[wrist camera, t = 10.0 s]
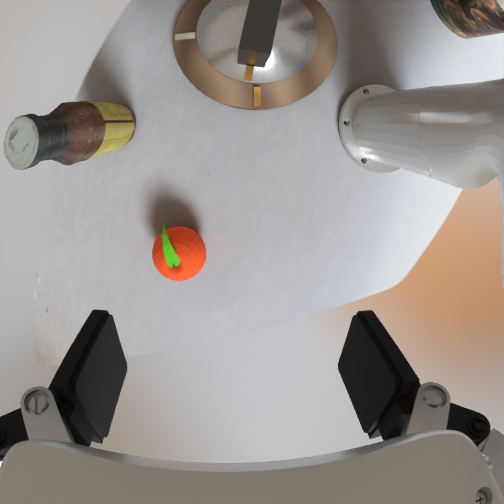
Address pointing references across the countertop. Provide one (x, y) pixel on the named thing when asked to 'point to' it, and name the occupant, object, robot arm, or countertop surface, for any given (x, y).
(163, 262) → the clementine
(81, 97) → the countertop surface
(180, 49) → the base
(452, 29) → the jar
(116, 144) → the sauce bottle
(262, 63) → the dial
